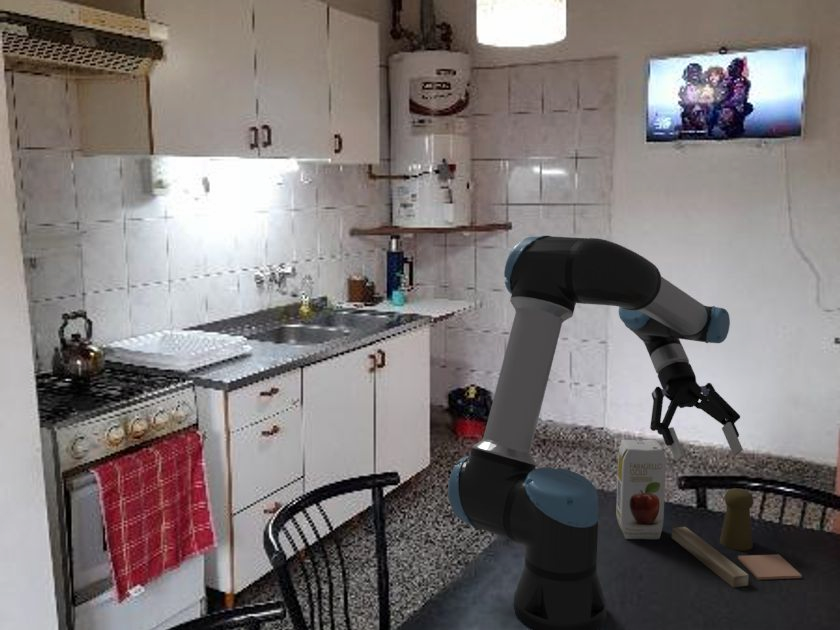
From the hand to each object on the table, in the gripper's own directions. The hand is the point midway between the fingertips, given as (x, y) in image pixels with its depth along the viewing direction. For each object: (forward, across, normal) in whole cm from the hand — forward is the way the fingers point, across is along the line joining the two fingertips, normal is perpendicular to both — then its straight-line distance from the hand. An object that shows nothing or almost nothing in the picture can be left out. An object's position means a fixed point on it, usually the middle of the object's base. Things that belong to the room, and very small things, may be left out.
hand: (709, 455), depth 159 cm
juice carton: (+11, +16, -9) cm, 22 cm away
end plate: (+25, 0, +4) cm, 25 cm away
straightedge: (+21, +10, 0) cm, 23 cm away
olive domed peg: (+18, 0, -3) cm, 18 cm away
